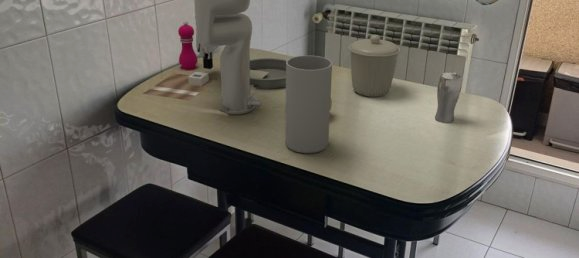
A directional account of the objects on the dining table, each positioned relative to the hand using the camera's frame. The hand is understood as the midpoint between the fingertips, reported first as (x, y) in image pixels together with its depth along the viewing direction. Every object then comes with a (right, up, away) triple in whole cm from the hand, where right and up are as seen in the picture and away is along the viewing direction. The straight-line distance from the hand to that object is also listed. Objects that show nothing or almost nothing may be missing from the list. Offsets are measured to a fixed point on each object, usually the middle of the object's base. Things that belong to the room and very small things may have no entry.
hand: (208, 68), depth 204 cm
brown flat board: (-8, -9, -9) cm, 15 cm away
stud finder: (-2, -6, -7) cm, 9 cm away
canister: (+60, -10, -8) cm, 62 cm away
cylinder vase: (+36, -28, -47) cm, 65 cm away
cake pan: (+22, -4, +3) cm, 23 cm away
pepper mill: (-9, 0, +9) cm, 13 cm away
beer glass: (+81, -20, -29) cm, 88 cm away
